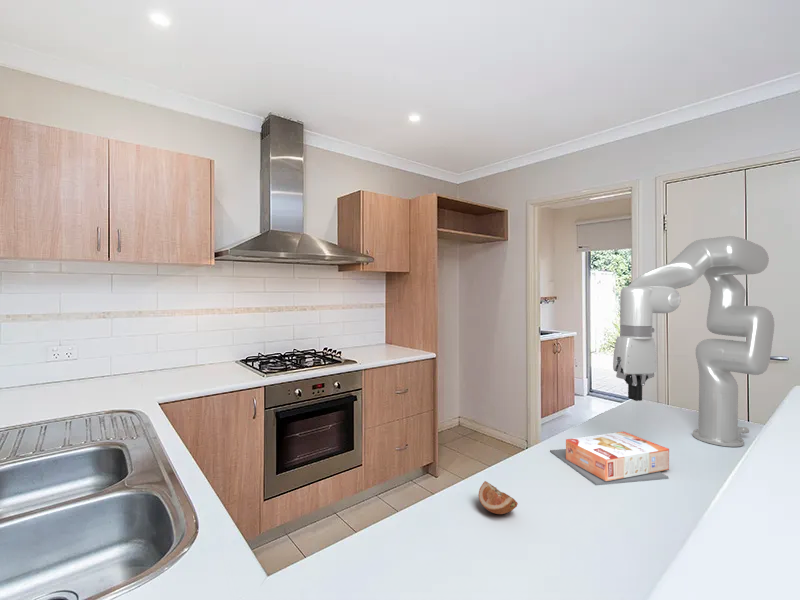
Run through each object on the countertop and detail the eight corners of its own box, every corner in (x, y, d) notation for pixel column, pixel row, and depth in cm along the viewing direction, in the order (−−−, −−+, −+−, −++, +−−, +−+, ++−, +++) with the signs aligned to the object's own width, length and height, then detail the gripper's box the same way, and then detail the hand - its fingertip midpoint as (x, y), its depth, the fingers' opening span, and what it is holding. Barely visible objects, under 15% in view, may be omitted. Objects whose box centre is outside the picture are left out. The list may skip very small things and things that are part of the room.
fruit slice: (524, 517, 80) (524, 493, 80) (499, 527, 77) (500, 502, 77) (495, 499, 88) (495, 477, 88) (471, 507, 84) (472, 484, 84)
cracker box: (670, 447, 100) (606, 458, 94) (670, 470, 101) (606, 483, 94) (623, 429, 114) (564, 438, 107) (623, 450, 114) (564, 460, 107)
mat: (611, 447, 117) (611, 445, 117) (668, 478, 97) (668, 476, 97) (550, 451, 114) (550, 450, 114) (595, 485, 94) (595, 483, 94)
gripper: (649, 330, 111) (648, 394, 112) (601, 331, 109) (601, 397, 109) (671, 333, 104) (670, 402, 104) (621, 334, 102) (620, 404, 102)
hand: (635, 399), depth 107 cm, fingers closed
